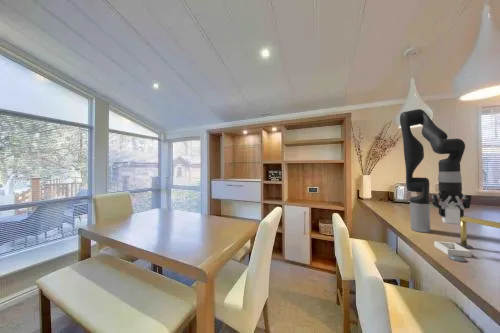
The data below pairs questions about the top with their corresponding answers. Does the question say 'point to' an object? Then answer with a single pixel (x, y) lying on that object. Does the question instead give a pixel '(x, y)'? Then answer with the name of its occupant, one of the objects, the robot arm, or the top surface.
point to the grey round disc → (457, 258)
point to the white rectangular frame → (455, 251)
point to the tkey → (476, 221)
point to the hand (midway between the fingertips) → (451, 216)
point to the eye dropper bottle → (451, 214)
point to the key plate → (465, 246)
